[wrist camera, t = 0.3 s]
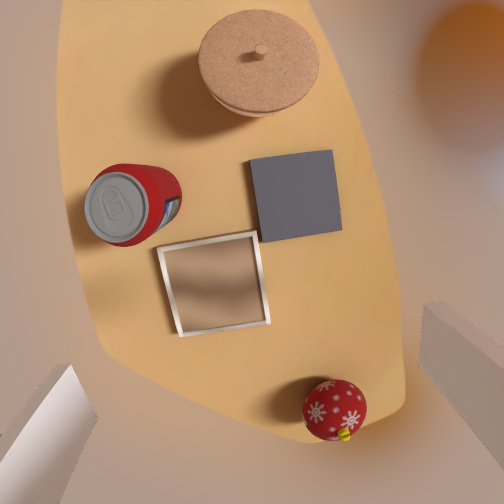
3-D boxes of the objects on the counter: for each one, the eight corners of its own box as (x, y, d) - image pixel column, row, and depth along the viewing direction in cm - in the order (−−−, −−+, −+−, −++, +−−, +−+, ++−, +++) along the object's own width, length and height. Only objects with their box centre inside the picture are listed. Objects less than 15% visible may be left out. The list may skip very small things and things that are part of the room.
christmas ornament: (354, 405, 42) (375, 450, 32) (299, 417, 42) (311, 466, 32) (356, 361, 40) (383, 406, 30) (295, 374, 40) (310, 424, 30)
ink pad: (249, 160, 33) (249, 160, 32) (329, 150, 33) (332, 149, 32) (262, 241, 35) (262, 243, 34) (339, 228, 35) (342, 230, 34)
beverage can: (140, 235, 34) (97, 264, 23) (117, 182, 33) (65, 187, 21) (193, 212, 34) (170, 231, 22) (169, 156, 32) (136, 147, 21)
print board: (159, 245, 35) (156, 248, 33) (255, 228, 35) (256, 230, 33) (181, 331, 37) (179, 337, 36) (269, 318, 37) (271, 323, 36)
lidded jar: (250, 145, 32) (256, 134, 23) (186, 79, 30) (169, 48, 21) (321, 87, 31) (349, 61, 22) (257, 25, 29) (264, -17, 20)
